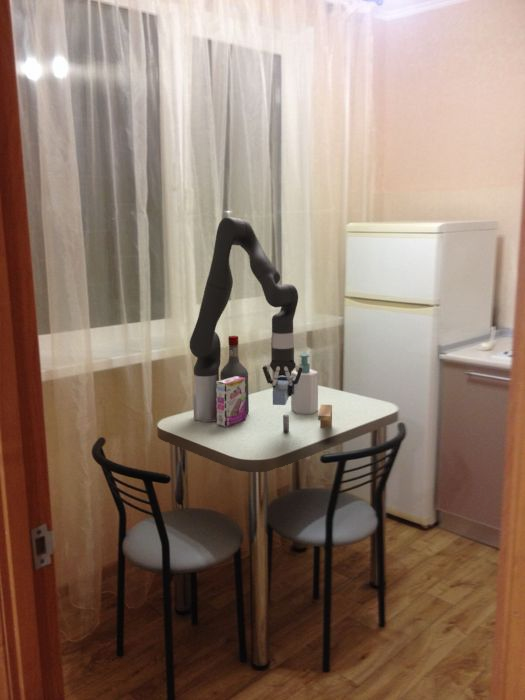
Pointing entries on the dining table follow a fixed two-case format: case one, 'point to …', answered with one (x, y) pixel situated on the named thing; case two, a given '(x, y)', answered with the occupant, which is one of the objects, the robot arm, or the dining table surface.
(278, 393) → the link
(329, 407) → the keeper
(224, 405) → the candy bar box
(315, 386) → the soap bottle
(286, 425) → the cylinder
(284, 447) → the dining table surface
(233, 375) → the liquor
